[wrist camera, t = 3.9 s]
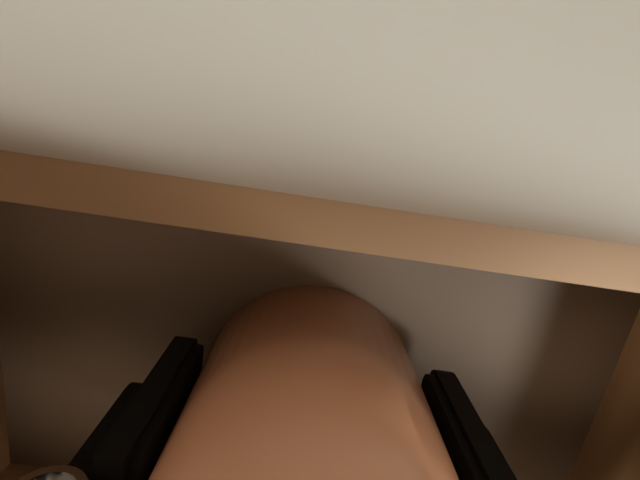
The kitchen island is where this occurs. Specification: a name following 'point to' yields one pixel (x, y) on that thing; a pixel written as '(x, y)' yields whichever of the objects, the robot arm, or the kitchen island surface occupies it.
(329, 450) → the pot
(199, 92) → the box
